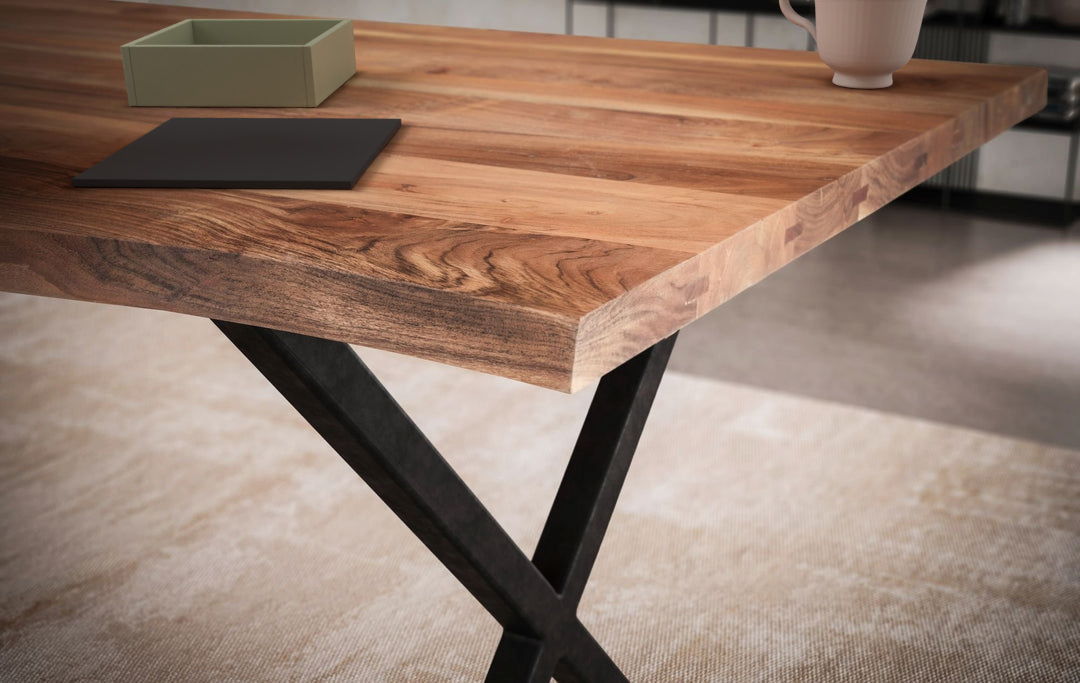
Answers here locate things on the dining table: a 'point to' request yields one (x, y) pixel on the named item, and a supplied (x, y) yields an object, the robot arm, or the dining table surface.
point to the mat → (246, 154)
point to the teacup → (863, 37)
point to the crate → (240, 63)
